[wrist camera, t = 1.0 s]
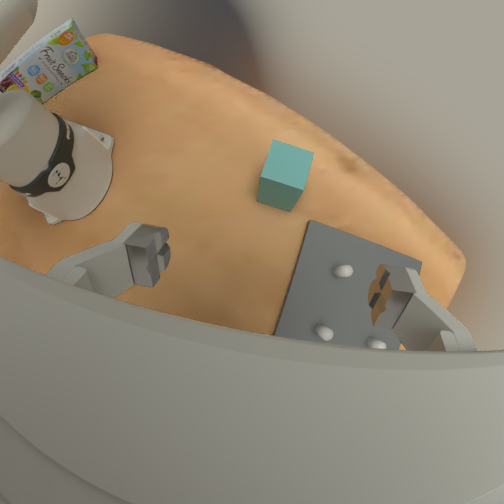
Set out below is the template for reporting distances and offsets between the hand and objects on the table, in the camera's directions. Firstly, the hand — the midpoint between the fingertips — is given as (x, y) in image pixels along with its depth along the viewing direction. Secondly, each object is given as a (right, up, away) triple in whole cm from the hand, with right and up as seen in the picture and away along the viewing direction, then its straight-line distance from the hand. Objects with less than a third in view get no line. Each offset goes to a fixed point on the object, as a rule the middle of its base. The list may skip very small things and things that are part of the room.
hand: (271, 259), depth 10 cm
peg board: (+14, -8, +28) cm, 32 cm away
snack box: (-46, +39, +32) cm, 68 cm away
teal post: (+3, +9, +29) cm, 31 cm away
